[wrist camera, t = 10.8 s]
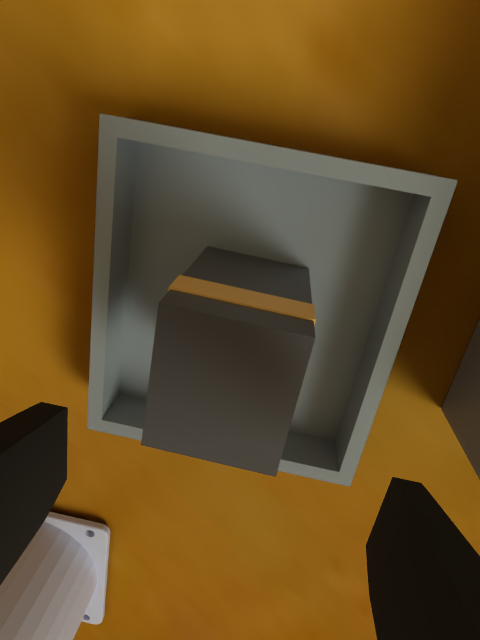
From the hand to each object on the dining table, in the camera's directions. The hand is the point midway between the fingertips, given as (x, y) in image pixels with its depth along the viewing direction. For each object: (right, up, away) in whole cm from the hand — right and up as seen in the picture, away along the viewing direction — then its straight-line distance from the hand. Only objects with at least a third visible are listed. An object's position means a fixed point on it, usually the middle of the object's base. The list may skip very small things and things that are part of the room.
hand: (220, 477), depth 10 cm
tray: (+1, +4, +8) cm, 9 cm away
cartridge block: (+1, +4, +8) cm, 9 cm away
